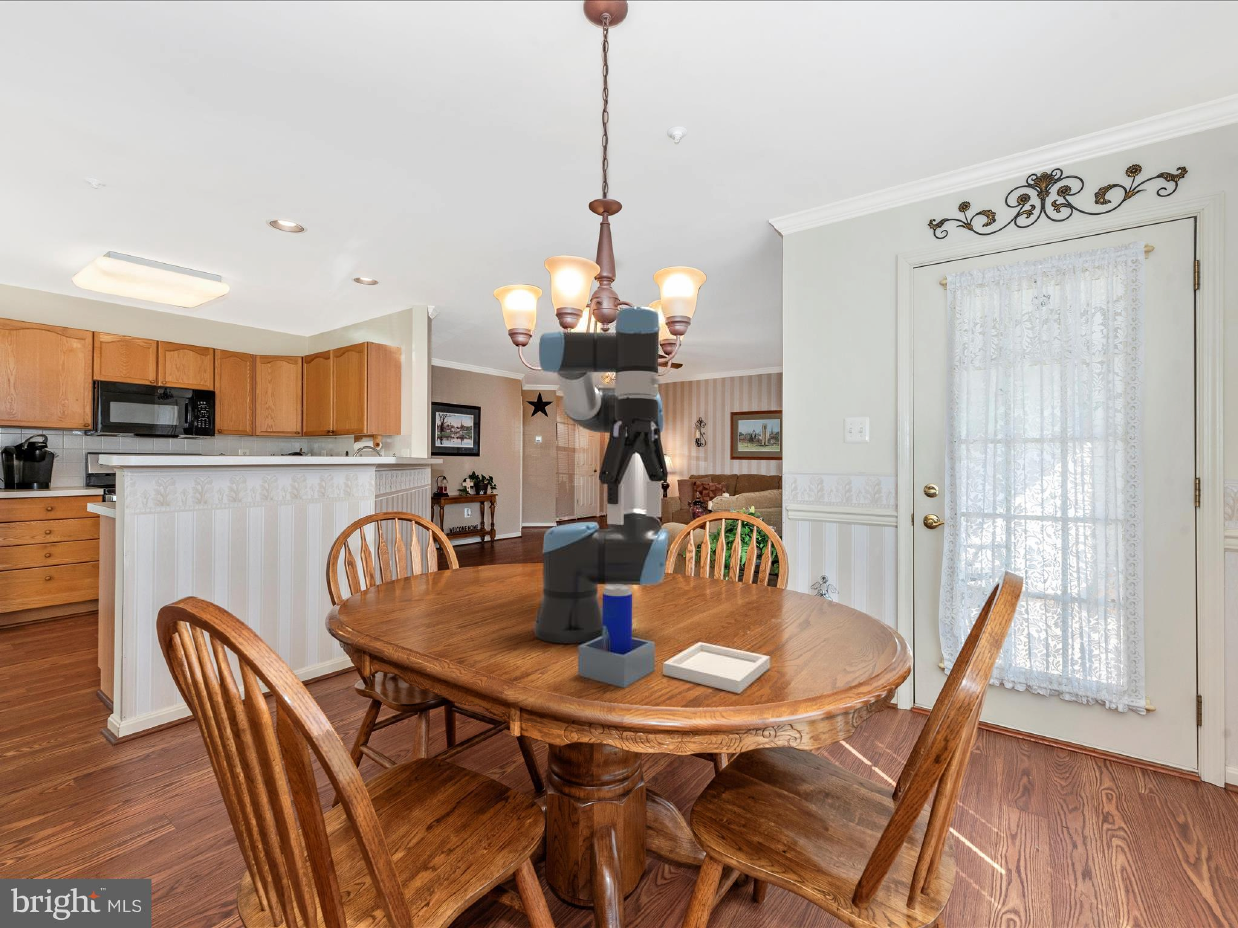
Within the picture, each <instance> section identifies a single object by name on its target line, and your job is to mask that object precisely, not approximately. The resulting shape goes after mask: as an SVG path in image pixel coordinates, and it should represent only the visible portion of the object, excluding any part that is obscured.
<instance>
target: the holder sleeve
mask: <svg viewBox="0 0 1238 928" xmlns="http://www.w3.org/2000/svg"><path fill="white" fill-rule="evenodd" d="M655 645H656V642H655V641H650V640H646V639H642V638H638V637H633V636H632V651H630V652H628V653H626V654H624V655H621V654H617V653H613V652H608V651H604V650H602V636H601V637H599V638H596V639H594V640H592V641H589V642H584V643H581V644H580V645H577V648H578V649H577V676H579V677H583V678H587V679H590V680H594V681H598V682H601V683H605V684H609V685H612V686H615V687H619V688H623V689H625V688H627V687H629V686H630V685H632V684H634V683H636V682H637V681H639V680H641V679H642V678H644V677H646V676H647V675H649V674H651V673H652V672H654V671H655V664H656V662H655V656H656V655H655V654H656V653H655V651H656V650H655V649H656V646H655Z"/></svg>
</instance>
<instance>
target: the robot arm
mask: <svg viewBox="0 0 1238 928" xmlns="http://www.w3.org/2000/svg"><path fill="white" fill-rule="evenodd" d="M659 317H660V316H659V312H658V311H656V310H655V309H654V308H651V307H646V306H629V307H624V308H621V309H620V310H618V311H617V312H616V318H615V326H614V328H615V330H614V331H615V332H599V331H598V332H586V331H584V332H582V331H581V332H579V331H578V332H576V331H575V332H574V331H562V330H560V331H559V330H558V331H556V332H555V331H553V332H544V333H542V334H541V336H540V338H539V342H538V343H539V344H538V357H539V358H538V359H539V366H540V369H541V371H543V372H547V373H553V374H556V376H557V380H558V382H559V385H560V390H561V392H562V394H563V395H562V400H561V403H562V404H561V405H562V408H563V412H564V413H565V415H566V416H567V417H568V418H569V419H570V420H571V422H573V423H575V424H576V425H577V426H578V427H581V428H583V429H585V430H587V431H589V432H594V433H598V434H600V433H601V434H609V436H608V442H607V445H606V449H605V453H604V455H603V459H602V463H601V466H600V471H599V473H598V480H599V481H600V483H601V484H602V485H606V503H607V507H606V509H607V516H606V519H607V522H606V523H607V525H608V529H607V528H605V529H604V528H603V529H600V526H599V523H598V522H595V521H587V522H586V521H585V522H584V521H583V522H581V521H580V522H575V523H573V522H572V523H567V524H561V525H557V526H553V527H551V528H548V529H547V530H546V531H545V533H544V536H543V549H542V552H541V553H543V554H542V556H543V557H542V558H543V559H542V560H543V561H542V564H543V565H542V567H543V569H542V571H543V574H542V575H543V576H542V577H543V580H542V600H541V603H540V605H539V608H538V612H537V615H536V619H535V621H534V628H533V629H534V636H535V638H537V639H539V640H542V641H545V642H550V643H556V644H557V643H558V644H583V643H587V642H589V641H592V640H594V639H596V638H599V637H601V636H602V611H603V609H602V606H601V604H600V603H601V602H600V600H599V596H598V586H599V585H611V584H623V585H628V586H640V587H644V586H647V585H651V586H653V585H658V584H660V583H662V581H663V580H664V576H665V570H666V564H667V563H666V561H667V552H668V544H669V543H668V542H669V533H670V532H669V531H668V530H667V529H664V528H662V523H661V520H660V519H659V518H661V517H662V482H667V480H668V475H669V473H668V469H667V464H666V458H665V454H664V449H663V445H662V440H661V439H662V438H661V433H662V432H663V429H664V413H663V412H664V411H663V403H662V399H661V395H660V392H659V384H660V382H661V381H660V378H659V355H660V354H659V353H660V351H659V350H660V348H659V346H660V344H659V343H660V342H659V341H660V338H659V337H660V336H659V335H660V334H659V333H660V328H661V327H660V323H659V321H660V320H659V319H660V318H659ZM594 373H615V379H614V380H615V382H614V383H615V384H614V385H615V386H614V387H596V386H595V385H596V384H595V379H594Z"/></svg>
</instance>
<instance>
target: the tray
mask: <svg viewBox="0 0 1238 928" xmlns="http://www.w3.org/2000/svg"><path fill="white" fill-rule="evenodd" d="M662 664H663V665H662V670H663V671H662V674H663V675H664V676H667V677H672V678H676V679H678V680H679V679H680V680H683V681H688V682H691V683H692V682H693V683H696V684H700V685H704V686H708V687H712V688H716V689H720V690H725V691H727V692H731V693H736V694H738V695H739V694H741V693H742V692H743V691H744V690H746V689H747V688H748V687H750V685H751V684H753V683H754V682H755V681H756V680H757V679H758V678H759V677H761V676H762V675H763V674H765V672H766V671H768V670H769V669H770V668H771V656H769V655H766V654H761V653H754V652H749V651H745V650H739V649H734V648H730V647H725V646H722V645H721V646H720V645H717V644H716V645H715V644H710V643H706V642H701V641H699V642H697V643H695V644H693V645H692V646H690V647H688V648H687V649H685V650H683V651H681V652H679V653H677V654H676V655H675V656H673V657H671V658H669V659H668V660H666V661H664V662H662Z"/></svg>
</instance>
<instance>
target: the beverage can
mask: <svg viewBox="0 0 1238 928" xmlns="http://www.w3.org/2000/svg"><path fill="white" fill-rule="evenodd" d="M632 637H633V590H632V586H631V585H623V584H605V586H603V590H602V650H604V651H608V652H613V653H617V654H621V655H624V654H626V653H628V652H630V651H632Z"/></svg>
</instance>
